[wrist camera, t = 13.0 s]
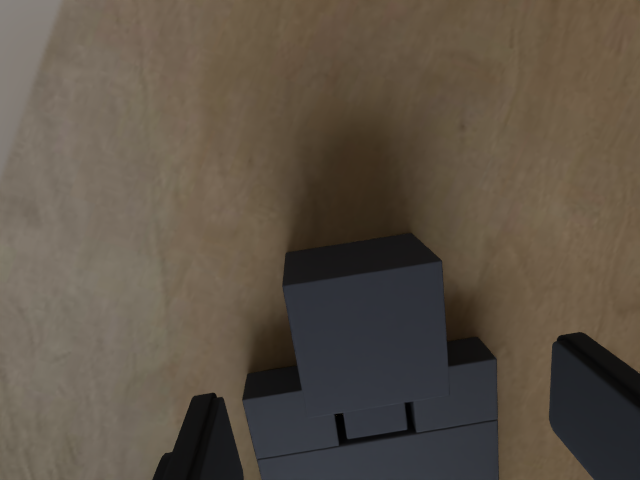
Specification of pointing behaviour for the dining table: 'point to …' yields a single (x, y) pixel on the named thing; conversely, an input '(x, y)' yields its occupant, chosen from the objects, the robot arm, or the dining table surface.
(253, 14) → the dining table surface
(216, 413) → the robot arm
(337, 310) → the pad
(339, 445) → the base pad
